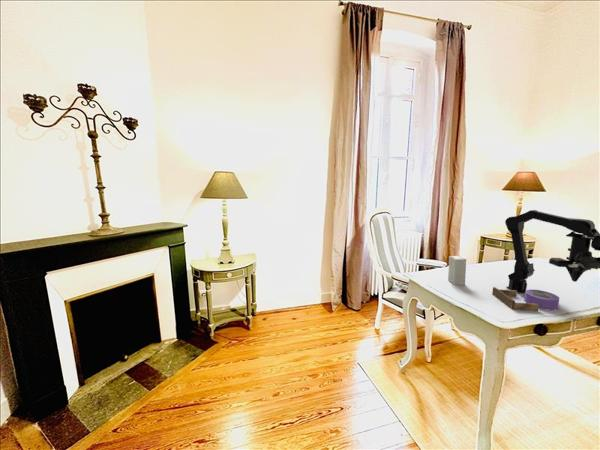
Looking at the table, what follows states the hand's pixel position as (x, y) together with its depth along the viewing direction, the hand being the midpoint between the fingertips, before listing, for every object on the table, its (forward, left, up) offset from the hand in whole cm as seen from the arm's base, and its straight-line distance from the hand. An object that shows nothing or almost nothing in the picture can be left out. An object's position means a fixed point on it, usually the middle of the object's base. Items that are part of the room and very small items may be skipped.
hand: (574, 281), depth 119 cm
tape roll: (-12, 0, -12) cm, 17 cm away
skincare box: (-40, +23, -12) cm, 48 cm away
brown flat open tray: (-23, 0, -12) cm, 26 cm away
